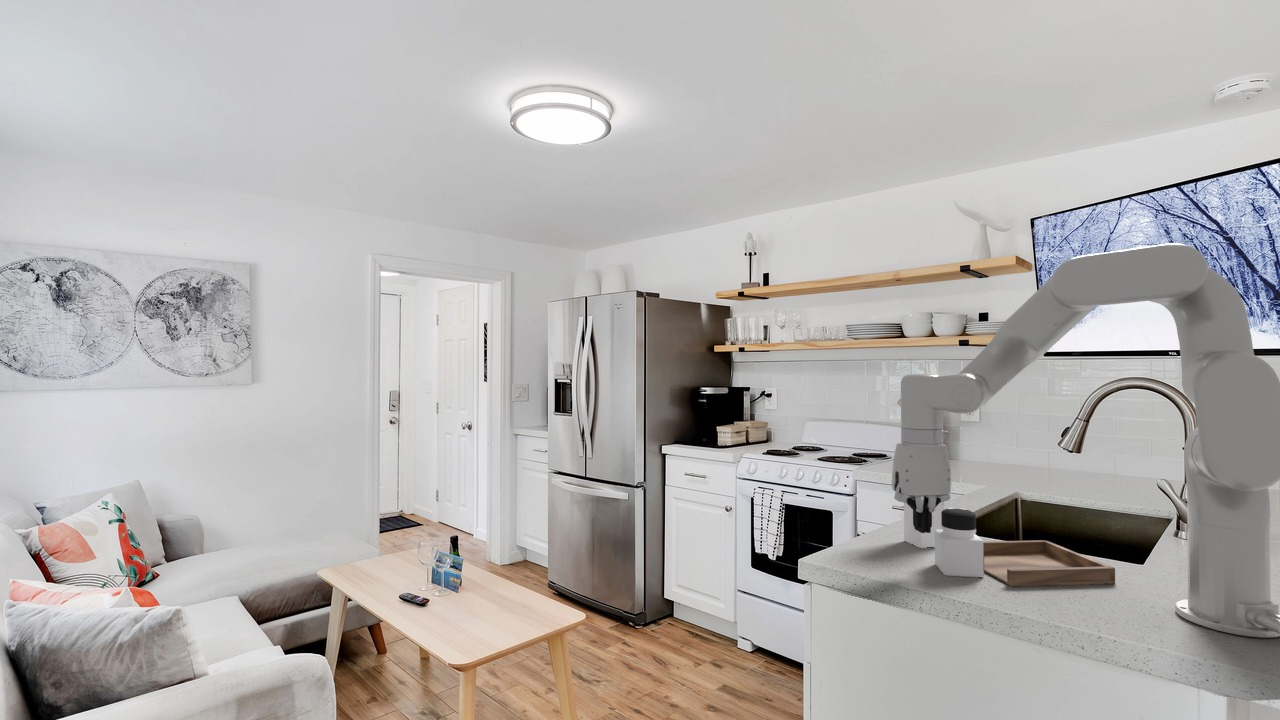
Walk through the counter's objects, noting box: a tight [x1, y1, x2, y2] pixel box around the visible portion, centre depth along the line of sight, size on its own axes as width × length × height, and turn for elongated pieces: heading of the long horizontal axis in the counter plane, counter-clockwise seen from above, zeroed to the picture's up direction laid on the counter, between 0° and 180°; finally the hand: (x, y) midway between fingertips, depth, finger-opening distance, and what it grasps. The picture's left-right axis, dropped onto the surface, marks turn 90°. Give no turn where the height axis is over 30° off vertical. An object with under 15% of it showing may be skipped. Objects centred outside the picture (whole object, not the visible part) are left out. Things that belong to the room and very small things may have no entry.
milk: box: [903, 496, 945, 549], centre depth 141 cm, size 6×6×22 cm
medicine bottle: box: [934, 507, 985, 579], centre depth 123 cm, size 7×7×12 cm
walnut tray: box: [984, 539, 1116, 587], centre depth 123 cm, size 18×20×3 cm
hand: (922, 531), depth 122 cm, fingers closed
